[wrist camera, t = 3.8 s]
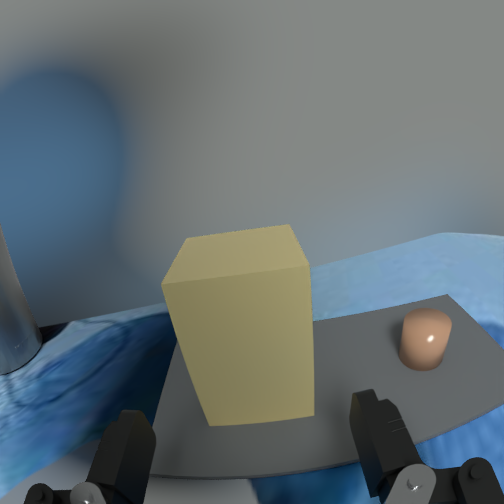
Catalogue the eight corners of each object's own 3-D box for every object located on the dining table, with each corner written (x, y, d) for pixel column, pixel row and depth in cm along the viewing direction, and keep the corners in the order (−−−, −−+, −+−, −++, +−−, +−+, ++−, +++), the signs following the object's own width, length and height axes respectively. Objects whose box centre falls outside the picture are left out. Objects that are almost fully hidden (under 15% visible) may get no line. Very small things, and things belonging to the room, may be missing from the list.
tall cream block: (209, 426, 16) (160, 284, 13) (216, 361, 22) (186, 238, 19) (314, 415, 16) (309, 265, 13) (299, 351, 22) (289, 224, 19)
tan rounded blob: (409, 376, 17) (417, 342, 16) (391, 346, 21) (396, 313, 20) (451, 362, 17) (460, 329, 16) (429, 335, 20) (436, 304, 19)
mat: (143, 475, 13) (140, 472, 13) (179, 340, 26) (178, 337, 26) (530, 386, 12) (533, 382, 12) (446, 297, 25) (447, 294, 25)
